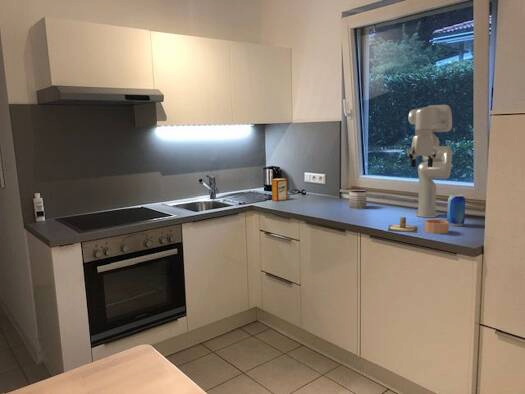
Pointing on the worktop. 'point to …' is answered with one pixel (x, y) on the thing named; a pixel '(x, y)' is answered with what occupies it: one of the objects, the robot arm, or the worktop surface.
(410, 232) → the mat
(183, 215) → the worktop surface
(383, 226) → the worktop surface
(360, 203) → the ribbed plant pot
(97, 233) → the worktop surface
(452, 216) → the beer can
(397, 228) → the lid
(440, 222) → the bowl
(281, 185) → the baking soda box
